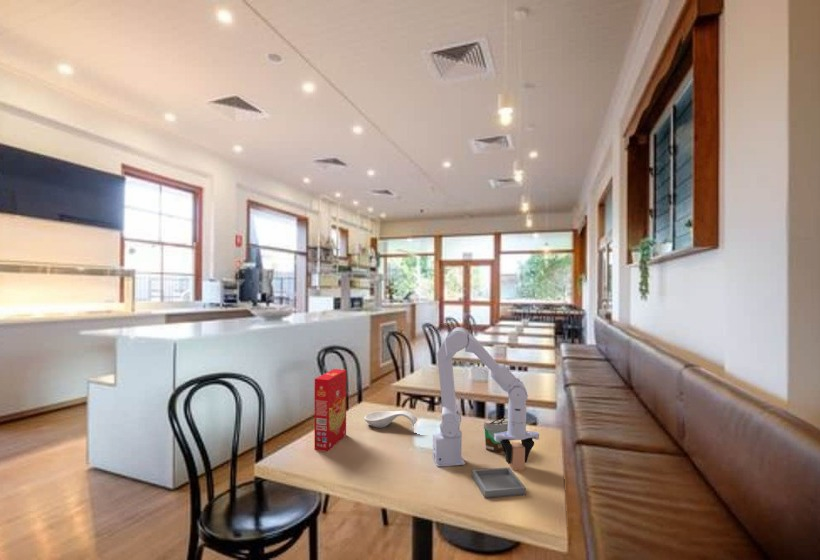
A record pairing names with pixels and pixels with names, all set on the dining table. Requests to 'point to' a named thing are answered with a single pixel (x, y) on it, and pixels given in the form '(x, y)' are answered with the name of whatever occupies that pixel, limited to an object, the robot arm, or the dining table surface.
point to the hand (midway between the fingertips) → (516, 461)
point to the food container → (495, 428)
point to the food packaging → (330, 409)
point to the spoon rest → (387, 418)
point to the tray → (498, 482)
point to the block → (517, 456)
